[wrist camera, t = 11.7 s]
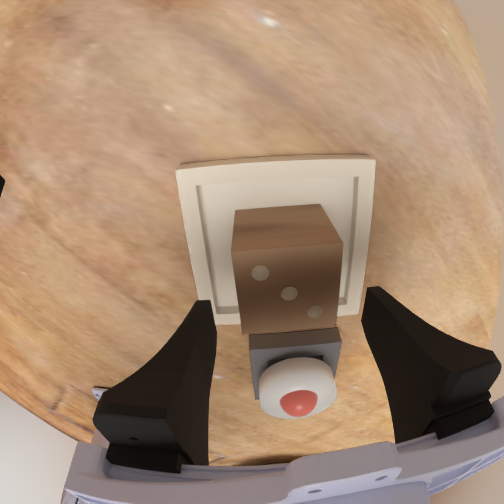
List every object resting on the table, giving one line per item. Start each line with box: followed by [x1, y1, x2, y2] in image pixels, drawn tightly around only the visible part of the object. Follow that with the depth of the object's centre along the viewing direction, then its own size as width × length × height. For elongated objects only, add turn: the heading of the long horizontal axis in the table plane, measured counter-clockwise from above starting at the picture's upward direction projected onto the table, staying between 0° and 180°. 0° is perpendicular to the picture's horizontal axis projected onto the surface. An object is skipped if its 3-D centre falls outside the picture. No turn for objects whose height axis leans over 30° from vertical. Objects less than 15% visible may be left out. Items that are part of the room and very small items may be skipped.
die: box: [231, 204, 343, 334], centre depth 17 cm, size 5×5×5 cm
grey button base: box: [249, 328, 342, 400], centre depth 24 cm, size 7×7×2 cm
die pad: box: [175, 154, 376, 325], centre depth 19 cm, size 11×11×1 cm
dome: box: [259, 357, 337, 419], centre depth 22 cm, size 6×6×5 cm
